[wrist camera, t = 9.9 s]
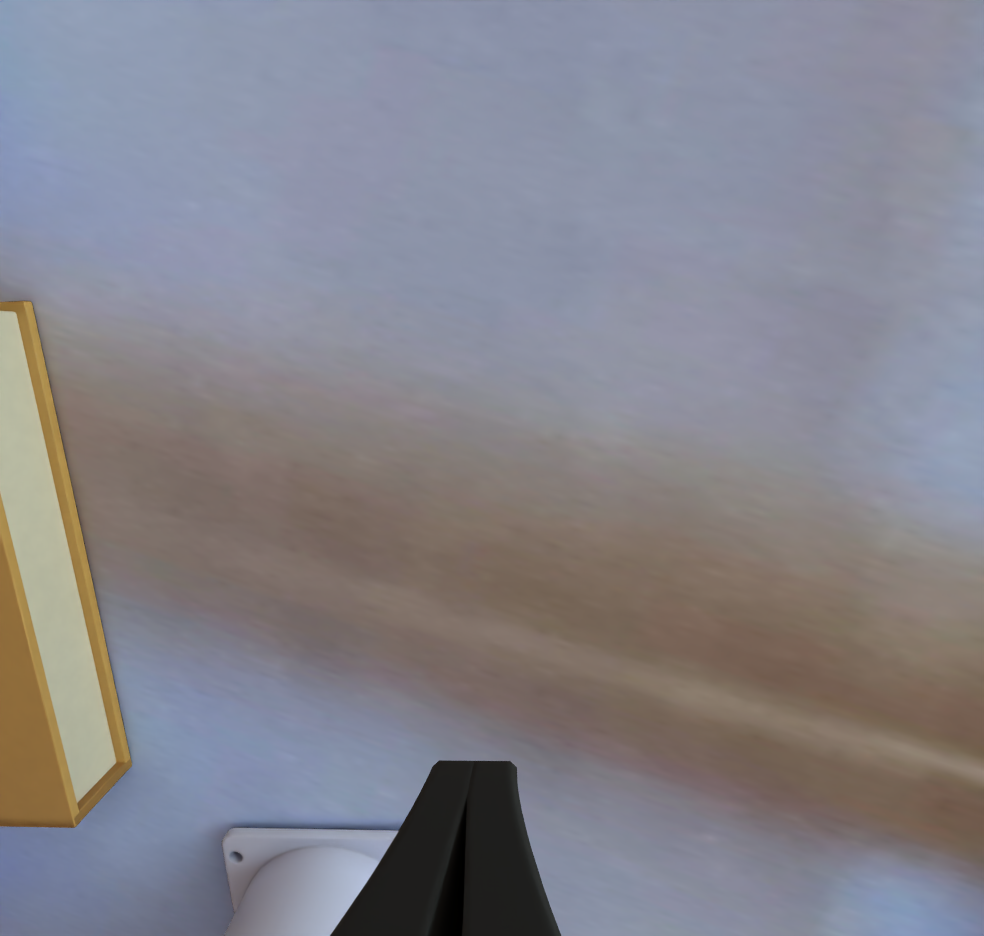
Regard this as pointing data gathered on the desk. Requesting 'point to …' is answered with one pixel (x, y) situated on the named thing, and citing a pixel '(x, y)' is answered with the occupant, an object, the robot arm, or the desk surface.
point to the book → (47, 611)
